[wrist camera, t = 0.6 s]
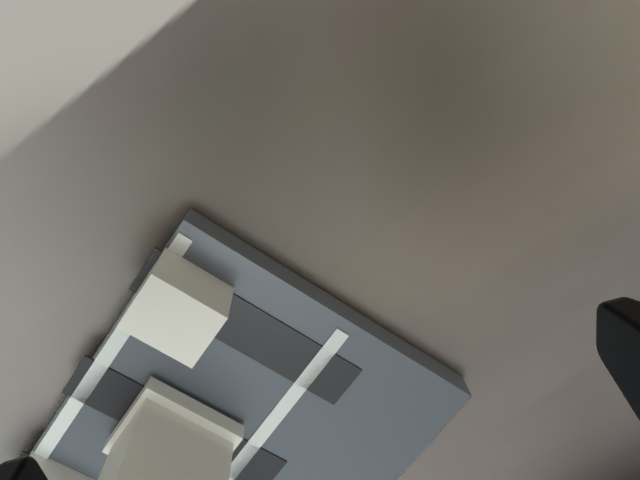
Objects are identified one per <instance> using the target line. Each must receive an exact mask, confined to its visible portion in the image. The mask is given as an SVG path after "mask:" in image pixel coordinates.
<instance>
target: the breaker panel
mask: <svg viewBox="0 0 640 480" xmlns="http://www.w3.org/2000/svg"><path fill="white" fill-rule="evenodd" d="M129 289H130V290H131V291H133V292H135V293H134V294H133V296H132V297H131V299H130V300H129V302H128V303H127V305H126V306H125V308H124V309H123V311H122V312H121V314H120V315H119V317H118V318H117V320H116V322H115V323H114V325H113V326H112V328H111V329H110V331H109V332H108V334H107V335H106V337H105V338H104V340H103V341H102V343H101V344H100V346H99V347H98V349H97V351H96V352H95V354H94V355H93V357H92V358H91V357H89V356H87V355H85V357H84V358H83V360H82V362H81V363H80V365H79V366H78V368H77V369H76V371H75V372H74V374H73V375H72V377H71V378H70V380H69V382H68V383H67V385H66V386H65V388H64V389H63V391H62V393H64V394H66V395H67V396H66V398H65V399H64V401H63V402H62V404H61V405H60V407H59V409H58V410H57V412H56V413H55V415H54V416H53V418H52V419H51V421H50V422H49V424H48V425H47V427H46V428H45V430H44V431H43V433H42V434H41V436H40V438H39V439H38V441H37V442H36V444H35V445H34V447H33V448H32V450H31V451H30V453H28V452H26V451H23V452H22V454H21V455H20V457H24V456H31V457H33V458H34V459H35V460H36V461H37V462H38V464H39V465H40V467H41V469H42V470H43V472H44V474H45V475H46V477H47V478H48V480H98V478H99V475H100V473H101V471H102V468H103V466H104V463H105V461H106V458H107V456H108V455H107V454H105V453H103V452H102V450H103V448H104V446H105V443H106V441H107V439H108V437H109V436H110V435H111V433H112V432H113V430H114V429H115V427H116V426H117V425H118V423H119V422H120V420H121V419H122V417H123V416H124V414H125V413H126V412H127V410H128V409H129V407H130V406H131V404H132V403H133V402H134V400H135V399H136V397H137V396H138V394H139V393H140V392H141V390H142V389H143V387H144V386H145V384H146V383H147V382H148V380H149V379H150V377H151V376H152V377H153V378H155V379H157V380H159V381H161V382H163V383H165V384H167V385H169V386H170V387H172V388H174V389H176V390H178V391H180V392H182V393H184V394H185V395H187V396H189V397H191V398H193V399H195V400H197V401H199V402H200V403H202V404H204V405H206V406H208V407H210V408H212V409H214V410H215V411H217V412H219V413H221V414H223V415H225V416H227V417H229V418H230V419H232V420H234V421H236V422H238V423H240V424H242V425H244V426H245V428H244V437H243V440H242V441H241V442H240V444H239V445H238V446H237V448H236V449H235V450H234V451H233V454H232V462H231V469H230V477H229V480H397V479H398V478H399V477H400V476H401V475H402V473H403V472H404V471H405V470H406V469H407V468H408V467H409V466H410V465H411V463H412V462H413V461H414V460H415V459H416V458H417V457H418V456H419V455H420V453H421V452H422V451H423V450H424V449H425V448H426V447H427V446H428V445H429V443H430V442H431V441H432V440H433V439H434V438H435V437H436V436H437V435H438V433H439V432H440V431H441V430H442V429H443V428H444V427H445V426H446V425H447V423H448V422H449V421H450V420H451V419H452V418H453V417H454V416H455V415H456V413H457V412H458V411H459V410H460V409H461V408H462V407H463V406H464V405H465V403H466V402H467V401H468V400H469V399H470V398H471V397H472V396H471V394H470V392H469V390H468V387H467V385H466V383H465V381H464V379H463V377H462V376H460V375H459V374H457V373H456V372H454V371H452V370H451V369H449V368H448V367H446V366H444V365H443V364H441V363H439V362H438V361H436V360H435V359H433V358H431V357H430V356H428V355H427V354H425V353H423V352H422V351H420V350H419V349H417V348H415V347H414V346H412V345H410V344H409V343H407V342H406V341H404V340H402V339H401V338H399V337H398V336H396V335H394V334H393V333H391V332H389V331H388V330H386V329H385V328H383V327H381V326H380V325H378V324H377V323H375V322H373V321H372V320H370V319H368V318H367V317H365V316H364V315H362V314H360V313H359V312H357V311H356V310H354V309H352V308H351V307H349V306H347V305H346V304H344V303H343V302H341V301H339V300H338V299H336V298H335V297H333V296H331V295H330V294H328V293H327V292H325V291H323V290H322V289H320V288H318V287H317V286H315V285H314V284H312V283H310V282H309V281H307V280H306V279H304V278H302V277H301V276H299V275H297V274H296V273H294V272H293V271H291V270H289V269H288V268H286V267H285V266H283V265H281V264H280V263H278V262H276V261H275V260H273V259H272V258H270V257H268V256H267V255H265V254H264V253H262V252H260V251H259V250H257V249H256V248H254V247H252V246H251V245H249V244H247V243H246V242H244V241H243V240H241V239H239V238H238V237H236V236H235V235H233V234H231V233H230V232H228V231H226V230H225V229H223V228H222V227H220V226H218V225H217V224H215V223H214V222H212V221H210V220H209V219H207V218H205V217H204V216H202V215H201V214H199V213H197V212H196V211H194V210H193V209H191V208H190V209H189V210H188V212H187V213H186V215H185V216H184V218H183V219H182V221H181V222H180V224H179V225H178V227H177V228H176V230H175V231H174V233H173V235H172V236H171V238H170V239H169V241H168V242H167V244H166V245H165V247H164V248H163V250H162V251H161V250H160V249H158V248H155V249H154V251H153V252H152V254H151V255H150V257H149V259H148V260H147V262H146V263H145V265H144V266H143V268H142V269H141V271H140V272H139V274H138V275H137V277H136V279H135V280H134V282H133V283H132V285H131V286H130V288H129ZM20 457H19V458H20Z"/></svg>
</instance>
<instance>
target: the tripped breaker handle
mask: <svg viewBox="0 0 640 480" xmlns="http://www.w3.org/2000/svg"><path fill="white" fill-rule="evenodd" d="M244 428H245V426H244V425H242V424H240V423H238V422H236V421H234V420H232V419H230V418H229V417H227V416H225V415H223V414H221V413H219V412H217V411H215V410H214V409H212V408H210V407H208V406H206V405H204V404H202V403H200V402H199V401H197V400H195V399H193V398H191V397H189V396H187V395H185V394H184V393H182V392H180V391H178V390H176V389H174V388H172V387H170V386H169V385H167V384H165V383H163V382H161V381H159V380H157V379H155V378H153V377H152V376H151V377H150V379H149V380H148V382H147V383H146V384H145V386H144V387H143V389H142V390H141V392H140V393H139V394H138V396H137V397H136V399H135V400H134V402H133V403H132V404H131V406H130V407H129V409H128V410H127V412H126V413H125V414H124V416H123V417H122V419H121V420H120V422H119V423H118V425H117V426H116V427H115V429H114V430H113V432H112V433H111V435H110V436H109V437H108V439H107V441H106V443H105V446H104V448H103V450H102V452H103V453H105V454H107V455H108V456H107V458H106V461H105V463H104V466H103V468H102V471H101V473H100V475H99V478H98V480H229V477H230V469H231V462H232V454H233V451H234V450H235V449H236V448H237V446H238V445H239V444H240V442H241V441H242V440H243V437H244Z"/></svg>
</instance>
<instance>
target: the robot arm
mask: <svg viewBox="0 0 640 480" xmlns="http://www.w3.org/2000/svg"><path fill="white" fill-rule="evenodd" d="M596 345H597V350H598V353H599V356H600V358H601V360H602V361H603V363H604V365H605V366H606V368H607V369H608V371H609V373H610V374H611V376H612V377H613V379H614V381H615V382H616V384H617V385H618V387H619V389H620V390H621V392H622V393H623V395H624V397H625V398H626V400H627V401H628V403H629V405H630V406H631V408H632V409H633V411H634V412H635V414H636V416H637V417H638V419H639V420H640V301H637V300H634V299H631V298H627V297H620V298H616V299H612V300H609V301H605V302H602V303H601V304H599V306H598V308H597V323H596ZM0 480H48V478H47V477H46V475H45V474H44V472H43V470H42V469H41V467H40V465H39V464H38V462H37V461H36V460H35V459H34V458H33V457H31V456H24V457H20V458H16V459H13V460H9V461H6V462H3V463H2V464H0Z"/></svg>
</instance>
